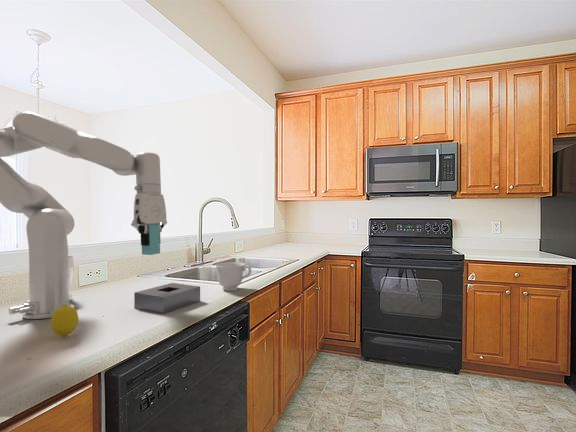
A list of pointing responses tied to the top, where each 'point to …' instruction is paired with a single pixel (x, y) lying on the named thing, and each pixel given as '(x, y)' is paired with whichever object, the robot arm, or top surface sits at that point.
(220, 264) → the teacup
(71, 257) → the beer glass
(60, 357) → the top surface
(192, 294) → the socket block
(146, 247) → the square peg
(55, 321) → the lemon
